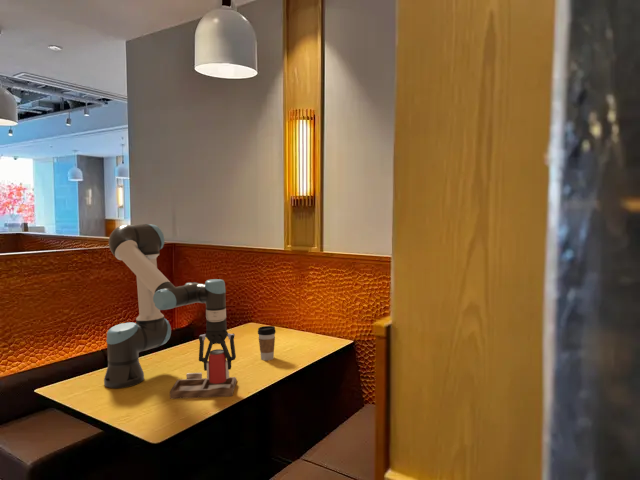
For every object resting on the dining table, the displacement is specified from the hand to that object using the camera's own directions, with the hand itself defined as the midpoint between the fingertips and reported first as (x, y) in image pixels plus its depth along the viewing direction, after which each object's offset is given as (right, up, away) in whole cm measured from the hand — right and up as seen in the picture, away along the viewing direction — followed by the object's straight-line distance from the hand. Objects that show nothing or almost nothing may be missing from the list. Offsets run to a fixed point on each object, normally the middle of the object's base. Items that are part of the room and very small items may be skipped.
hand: (218, 377), depth 174 cm
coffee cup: (+15, -3, +37) cm, 40 cm away
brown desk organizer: (-6, -5, +2) cm, 8 cm away
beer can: (0, -2, 0) cm, 2 cm away
